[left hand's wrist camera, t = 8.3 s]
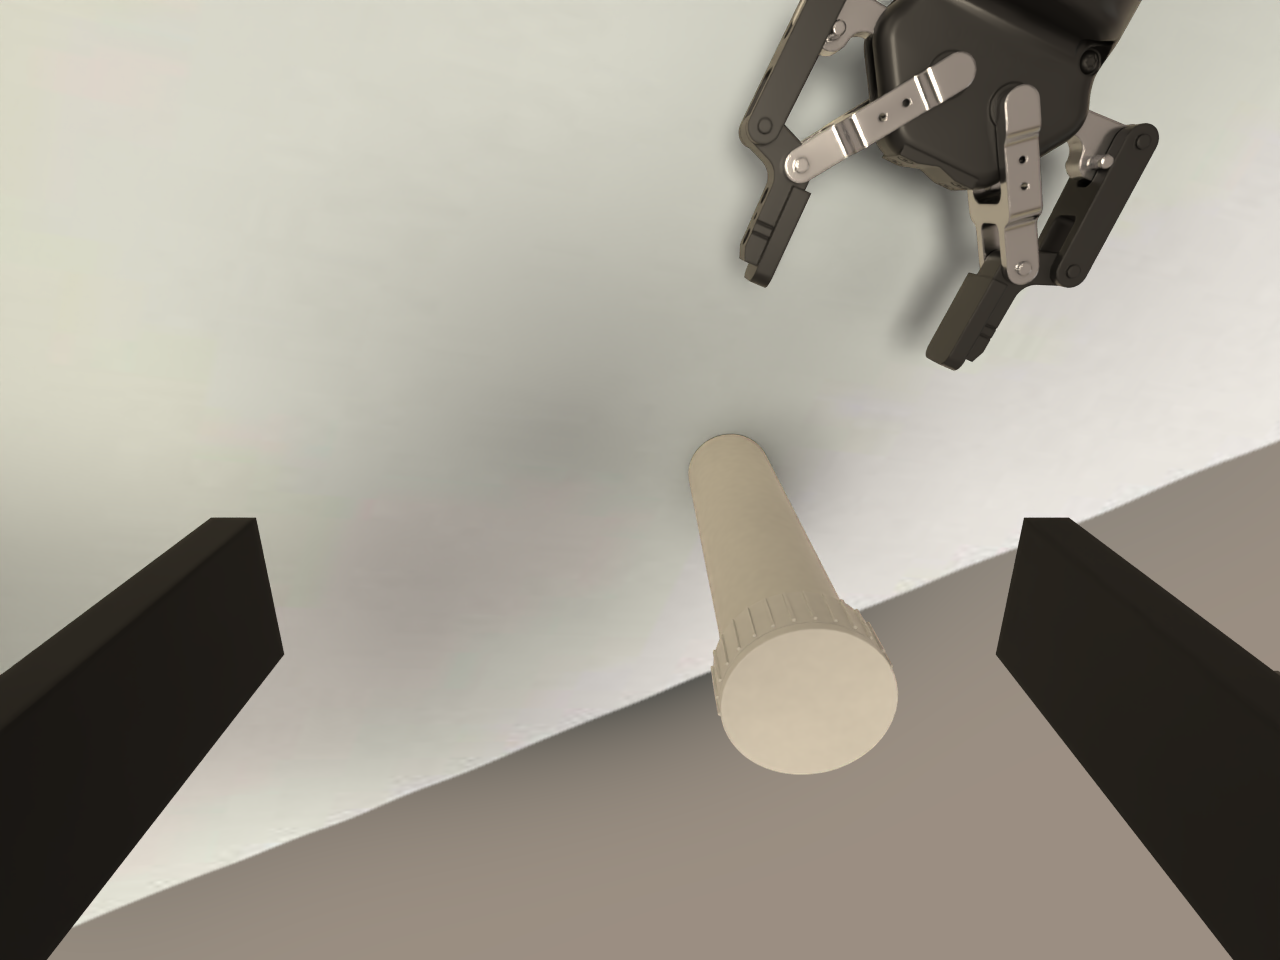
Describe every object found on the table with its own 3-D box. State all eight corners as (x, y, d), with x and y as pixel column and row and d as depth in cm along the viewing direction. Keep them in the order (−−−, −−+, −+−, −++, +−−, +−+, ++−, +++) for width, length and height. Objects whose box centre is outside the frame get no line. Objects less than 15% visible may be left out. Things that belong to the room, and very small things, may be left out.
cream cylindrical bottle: (675, 454, 38) (709, 666, 21) (750, 420, 38) (850, 611, 20) (707, 521, 40) (764, 772, 22) (781, 490, 39) (898, 723, 22)
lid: (683, 628, 23) (688, 669, 21) (845, 562, 22) (866, 598, 20) (748, 751, 24) (758, 800, 22) (900, 694, 23) (924, 739, 22)
